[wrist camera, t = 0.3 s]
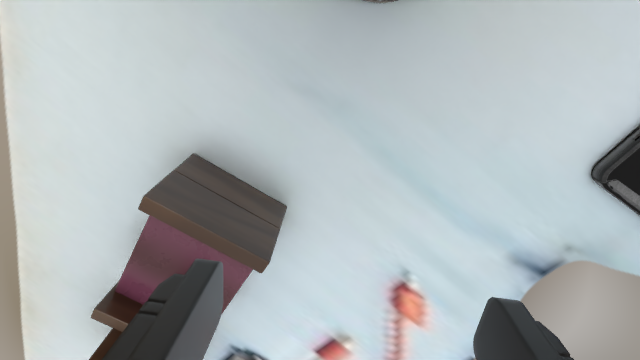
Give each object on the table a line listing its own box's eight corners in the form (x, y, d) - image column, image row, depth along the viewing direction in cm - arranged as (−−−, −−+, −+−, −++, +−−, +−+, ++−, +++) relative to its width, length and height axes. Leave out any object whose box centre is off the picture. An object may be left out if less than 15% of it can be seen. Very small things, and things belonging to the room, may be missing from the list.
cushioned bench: (193, 152, 28) (143, 195, 21) (287, 206, 29) (269, 262, 22) (143, 256, 33) (90, 317, 26) (225, 297, 34) (195, 365, 27)
